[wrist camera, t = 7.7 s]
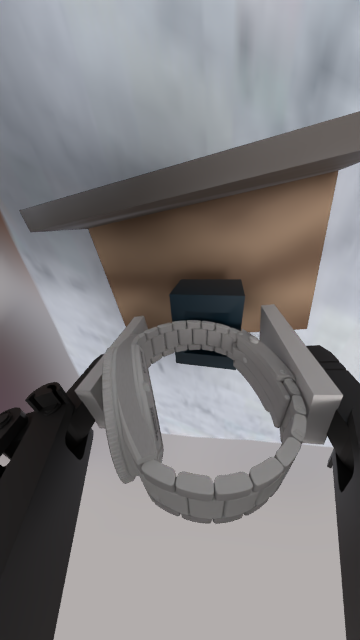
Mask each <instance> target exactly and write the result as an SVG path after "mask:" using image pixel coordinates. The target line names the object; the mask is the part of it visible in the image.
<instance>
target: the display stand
mask: <svg viewBox="0 0 360 640" xmlns="http://www.w3.org/2000/svg"><path fill="white" fill-rule="evenodd" d="M359 162H360V111H359V112H356V113H352V114H349V115H346V116H342V117H339V118H335V119H332V120H328V121H325V122H322V123H318V124H315V125H311V126H308V127H304V128H301V129H297V130H294V131H291V132H287V133H284V134H280V135H277V136H273V137H270V138H267V139H263V140H260V141H256V142H253V143H249V144H246V145H243V146H239V147H236V148H232V149H229V150H225V151H222V152H218V153H215V154H212V155H208V156H205V157H201V158H198V159H194V160H191V161H188V162H184V163H181V164H177V165H174V166H170V167H167V168H164V169H160V170H157V171H153V172H150V173H146V174H143V175H139V176H136V177H133V178H129V179H126V180H122V181H119V182H115V183H112V184H109V185H105V186H102V187H98V188H95V189H91V190H88V191H85V192H81V193H78V194H74V195H71V196H67V197H64V198H60V199H57V200H54V201H50V202H47V203H43V204H40V205H36V206H33V207H30V208H26V209H23V210H19V211H20V213H21V215H22V217H23V219H24V221H25V223H26V224H27V226H28V228H29V230H30V232H43V231H58V230H74V229H88V230H89V232H90V235H91V237H92V240H93V243H94V245H95V248H96V250H97V253H98V256H99V258H100V261H101V263H102V266H103V269H104V271H105V274H106V276H107V279H108V282H109V284H110V287H111V289H112V292H113V295H114V297H115V300H116V302H117V305H118V308H119V310H120V313H121V315H122V318H123V321H124V323H125V326H126V327H127V326H128V324H129V323H130V322H131V321H132V319H133V318H134V317H138V316H144V318H145V321H146V324H147V327H148V329H151V328H153V327H157V326H158V325H162V324H166V323H171V324H172V317H171V307H170V297H169V294H170V293H171V291H172V290H173V289H174V288H175V286H176V285H177V284H178V282H179V281H180V280H181V279H241V281H242V285H243V289H244V293H245V302H244V310H243V318H242V326H241V331H242V329H244V330H245V331H247V332H260V318H261V305H272V304H274V305H275V306H276V307H277V309H278V310H279V311H280V313H281V314H282V315H283V317H284V318H285V319H286V321H287V322H288V323H289V324H290V326H291V327H292V328H293V330H296V329H307V325H308V320H309V315H310V310H311V305H312V300H313V295H314V290H315V285H316V280H317V275H318V270H319V265H320V260H321V255H322V250H323V245H324V240H325V235H326V230H327V225H328V220H329V215H330V210H331V205H332V200H333V195H334V190H335V185H336V180H337V175H338V170H341V169H343V168H346V167H348V166H351V165H353V164H356V163H359ZM157 328H158V327H157Z"/></svg>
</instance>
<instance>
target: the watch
mask: <svg viewBox="0 0 360 640" xmlns="http://www.w3.org/2000/svg"><path fill="white" fill-rule="evenodd" d="M169 297H170V307H171V317H172V324H171V323H166V324H162V325H158V326H157V327H158V328H157V327H153V328H151V329H148V330H146V331H144V333H141V334H139V335H138V334H134V335H131V336H129V337H128V338H127V339H125V340H124V341H123V342H122V343H121V344H120V346H119V347H118V348H117V347H110V348H108V349H107V351H106V353H105V356H104V361H103V369H102V399H103V411H104V420H105V427H106V433H107V439H108V444H109V449H110V453H111V457H112V460H113V463H114V466H115V469H116V472H117V474H118V476H119V478H120V480H121V481H122V482H123V483H125V484H126V483H129V482H131V481H133V480H134V479H135V477H136V476H140V478H141V480H142V482H143V484H144V486H145V489H146V490H147V493H148V494H149V496H150V498H151V499H152V501H153V502H155V504H156V505H158V506H159V507H160V508H162V509H163V510H165V511H167V512H169V513H171V514H173V515H176V516H179V515H180V514H181V515H182V517H183V518H184V519H186V520H190V521H193V522H198V523H211V521H212V519H213V522H214V523H216V524H217V523H226V522H231V521H234V520H237V519H240V518H242V516H243V514H244V515H249V514H251V513H253V512H254V511H256V510H257V509H259V508H260V507H261V506H262V505H264V504H265V503H266V502H267V500H268V499H269V497H271V496H273V494H274V493H275V492H276V491H277V489H278V488H279V486H280V485H281V483H282V481H283V479H284V478H285V476H286V474H287V472H288V471H289V469H290V467H291V465H292V463H293V461H294V460H295V458H296V456H297V454H298V452H299V450H300V448H301V444H302V442H303V440H304V437H305V433H306V424H307V420H306V417H305V415H306V409H305V404H304V401H303V399H302V397H301V396H300V395H301V393H300V391H299V389H298V387H297V386H296V377H295V376H294V374H293V373H292V372H291V371H290V369H289V368H288V367H287V366H286V365H285V364H284V363H283V362H282V361H281V359H280V358H279V357H278V356H277V355H276V354H275V353H274V352H273V351H271V350H270V349H269V348H268V347H267V346H266V345H264V344H263V343H262V342H261V341H259V340H258V339H257V338H256V337H254V336H253V335H251V334H250V333H248V332H247V331H245V330H244V329H242V331H241V326H242V318H243V310H244V302H245V293H244V289H243V285H242V281H241V279H181V280H180V281H179V282H178V284H177V285H176V286H175V288H174V289H173V290H172V291H171V293H170V294H169ZM164 340H165V341H164ZM174 349H175V351H174ZM174 352H175V355H176V363H181V364H189V365H198V366H206V367H215V368H223V369H232V370H236V369H237V370H238V371H239V372H240V373H241V374H242V375H243V376H244V378H245V379H246V380H247V381H248V382H249V384H250V385H251V386H252V388H253V389H254V391H255V392H256V394H257V396H258V397H259V399H260V401H261V402H262V404H263V406H264V408H265V410H266V411H268V412H270V415H271V417H272V420H273V423H274V426H275V427H276V428H280V437H281V442H282V445H281V447H280V448H279V450H278V451H277V452H276V455H275V457H270V458H268V459H267V460H265V461H264V462H262V463H260V464H258V465H256V466H254V467H252V468H251V470H250V473H249V476H248V475H247V474H246V473H245V472H238V473H234V474H229V475H219V476H217V477H216V478H215V482H214V483H213V481H212V479H211V478H210V477H209V476H205V475H197V474H192V473H188V472H180V473H179V474H178V476H177V477H176V473H175V471H174V469H173V468H171V467H168V466H166V465H164V464H162V457H163V451H164V449H163V443H162V437H161V432H160V426H159V421H158V416H157V411H156V406H155V400H154V395H153V390H152V386H151V381H150V376H149V371H148V368H149V367H150V366H151V364H153V363H155V362H156V361H158V360H160V359H161V358H162V356H164V357H165V356H168V355H170V354H173V353H174Z"/></svg>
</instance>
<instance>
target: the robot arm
mask: <svg viewBox="0 0 360 640" xmlns="http://www.w3.org/2000/svg"><path fill="white" fill-rule="evenodd" d="M146 330H148V327H147V324H146V321H145V318H144V316H138V317H134V318H133V319H132V321H131V322H130V323H129V324H128V326H127V327H126V328H125V329H124V331H123V332H122V333H121V334H120V335H119V337H118V338H117V339H116V340H115V342H114V343H113V344H112V345H111V346H110V347H117V348H118V347H119V346H120V344H121V343H122V342H123V341H124V340H125V339H127V338H128V337H129V336H131V335H134V334H138V335H139V334H141V333H144V331H146ZM260 341H261V342H262V343H263V344H264V345H266V346H267V347H268V348H269V349H270V350H271V351H273V352H274V353H275V354H276V355H277V356H278V357H279V358H280V359H281V361H282V362H283V363H284V364H285V365H286V366H287V367H288V368H289V369H290V371H291V372H292V373H293V374H294V376H295V377H296V386H297V387H298V389H299V391H300V393H301V395H300V396H301V397H302V399H303V401H304V404H305V409H306V415H305V417H306V420H307V424H306V433H305V437H304V440H303V442H302V443H311V444H324V443H325V440H326V438H327V436H328V438H329V440H330V442H331V443H332V445H333V447H334V449H333V452H332V454H331V456H330V458H329V460H328V465H327V467H329V468H332V466H333V475H334V488H335V501H336V514H337V526H338V539H339V551H340V564H341V575H342V589H343V602H344V615H345V627H346V639H347V640H360V383H359V382H358V381H357V380H356V379H355V378H354V377H353V376H352V375H351V374H350V373H349V371H348V370H347V371H346V368H345V367H344V366H343V365H342V364H341V363H339V361H338V359H337V358H336V357H335V356H334V355H333V354H332V353H331V352H330V351H328V350H326V349H325V348H323V347H321V346H320V345H316V346H305V344H304V343H303V342H302V340H301V339H300V338H299V336H298V335H297V334H296V332H295V331H294V330H293V328H292V327H291V326H290V324H289V323H288V322H287V321H286V319H285V318H284V317H283V315H282V314H281V313H280V311H279V310H278V309H277V307H276V306H275V305H274V304H272V305H261V318H260ZM104 356H105V354H102V355H100V356H99V357H98V358H96V359H95V360H94V361H93V362H92V363H91V365H90V366H89V368H87V369H86V370H85V372H84V374H82V375H81V376H80V377H79V379H78V380H77V381H76V382H75V383H74V385H73V386H72V387H71V388H70V389H69V390H68V392H67V393H65V391H64V390H63V388H62V387H61V386H60V384H59V383H57V382H53V383H48V384H46V385H43V386H41V387H40V388H38V389H36V390H35V391H34V392H33V393H31V394H30V395H29V396H28V397H27V399H26V400H25V401H26V402H27V403H28V404H29V405H30V406H31V407H32V408H33V409H34V412H31V413H27V414H25V413H24V412H23V411H22V410H21V409H20V408H12V409H9V410H7V411H5V412H3V413H1V414H0V456H1V455H2V454H4V455H5V456H7V457H8V458H9V459H10V462H9V463H8V464H7V465H6V466H4V467H3V466H1V465H0V640H53V639H54V634H55V628H56V623H57V618H58V613H59V608H60V603H61V598H62V593H63V587H64V583H65V578H66V573H67V567H68V562H69V557H70V552H71V547H72V542H73V537H74V532H75V527H76V522H77V516H78V512H79V506H80V501H81V496H82V491H83V486H84V481H85V475H86V471H87V466H88V460H89V455H90V450H91V445H92V440H93V430H92V429H91V427H92V425H93V424H94V422H96V423H97V424H98V426H99V427H100V428H105V429H106V427H105V420H104V411H103V399H102V369H103V361H104Z"/></svg>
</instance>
